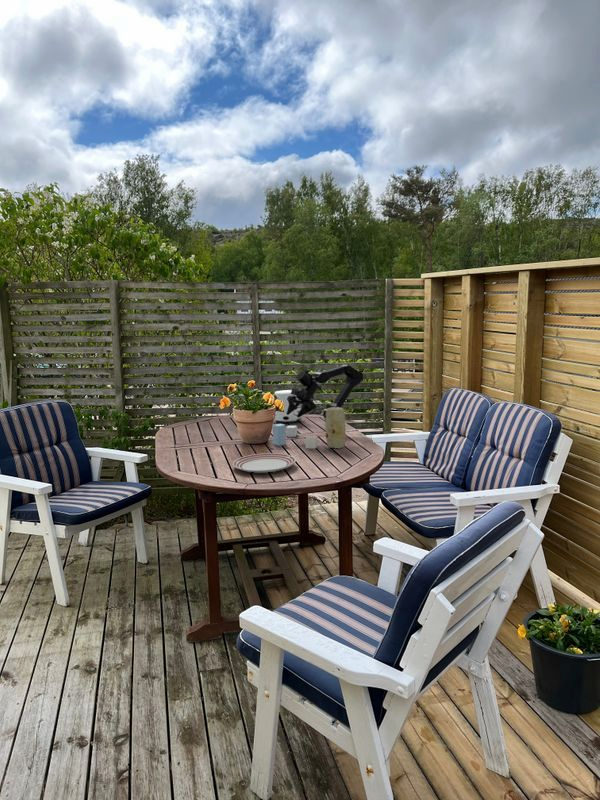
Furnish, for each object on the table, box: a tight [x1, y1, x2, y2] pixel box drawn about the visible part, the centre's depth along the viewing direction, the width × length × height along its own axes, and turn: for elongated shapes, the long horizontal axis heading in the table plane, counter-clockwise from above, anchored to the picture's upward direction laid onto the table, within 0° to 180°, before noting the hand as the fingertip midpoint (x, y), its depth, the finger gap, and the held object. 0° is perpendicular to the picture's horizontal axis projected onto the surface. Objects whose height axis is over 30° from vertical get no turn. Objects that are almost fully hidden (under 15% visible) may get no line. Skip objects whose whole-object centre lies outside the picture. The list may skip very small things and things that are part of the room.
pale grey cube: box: [285, 425, 298, 438], centre depth 315 cm, size 5×5×5 cm
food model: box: [324, 407, 346, 449], centre depth 285 cm, size 10×7×20 cm
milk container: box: [273, 389, 303, 424], centre depth 351 cm, size 17×17×18 cm
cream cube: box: [305, 435, 318, 449], centre depth 288 cm, size 5×5×5 cm
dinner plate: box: [232, 452, 297, 474], centre depth 255 cm, size 28×27×3 cm
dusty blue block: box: [272, 423, 287, 447], centre depth 295 cm, size 4×4×10 cm
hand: (292, 415), depth 299 cm, fingers open, 9 cm apart
